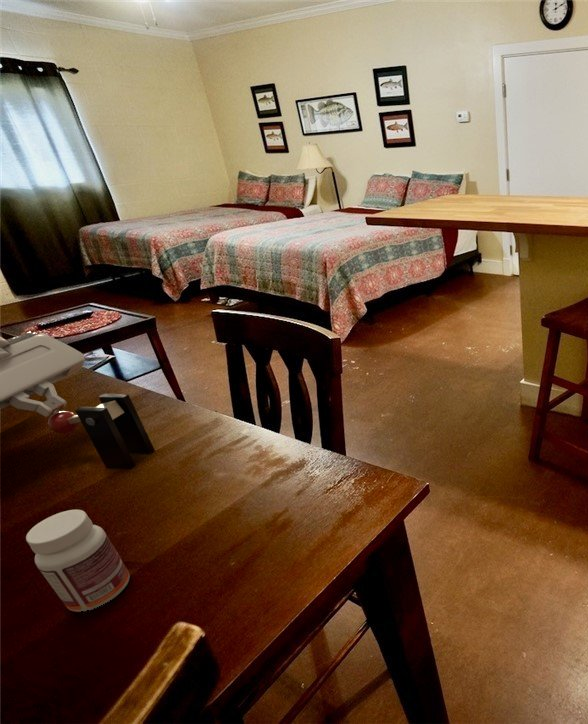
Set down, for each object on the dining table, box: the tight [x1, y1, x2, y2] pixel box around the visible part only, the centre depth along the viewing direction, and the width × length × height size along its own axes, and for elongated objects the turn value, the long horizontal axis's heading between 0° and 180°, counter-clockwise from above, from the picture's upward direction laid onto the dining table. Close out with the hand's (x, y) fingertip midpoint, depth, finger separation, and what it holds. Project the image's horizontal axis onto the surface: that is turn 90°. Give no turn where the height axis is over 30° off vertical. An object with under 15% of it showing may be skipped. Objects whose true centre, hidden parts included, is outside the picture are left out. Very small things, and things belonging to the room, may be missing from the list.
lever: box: [47, 401, 124, 434], centre depth 77 cm, size 12×4×4 cm, turn 85°
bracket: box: [74, 393, 156, 470], centre depth 78 cm, size 9×7×13 cm
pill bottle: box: [25, 509, 131, 613], centre depth 56 cm, size 6×6×11 cm
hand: (57, 409), depth 77 cm, fingers closed, pressing on lever
